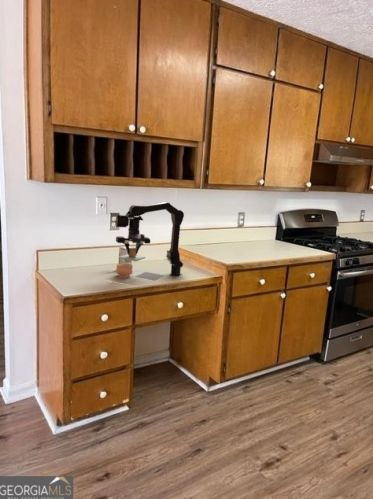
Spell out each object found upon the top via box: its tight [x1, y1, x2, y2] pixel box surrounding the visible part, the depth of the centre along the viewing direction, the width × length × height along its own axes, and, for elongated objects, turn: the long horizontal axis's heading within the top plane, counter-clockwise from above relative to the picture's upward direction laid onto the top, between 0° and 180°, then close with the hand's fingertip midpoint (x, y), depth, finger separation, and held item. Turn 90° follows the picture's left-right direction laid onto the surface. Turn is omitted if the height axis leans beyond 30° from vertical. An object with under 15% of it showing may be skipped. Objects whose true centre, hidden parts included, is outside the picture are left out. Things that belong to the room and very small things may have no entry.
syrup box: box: [118, 245, 133, 265], centre depth 230 cm, size 6×6×14 cm
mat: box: [134, 271, 165, 281], centre depth 219 cm, size 13×13×1 cm
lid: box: [118, 247, 146, 262], centre depth 214 cm, size 11×11×6 cm
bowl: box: [115, 263, 133, 279], centre depth 215 cm, size 9×9×7 cm
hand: (132, 254), depth 214 cm, fingers closed on lid, 4 cm apart
